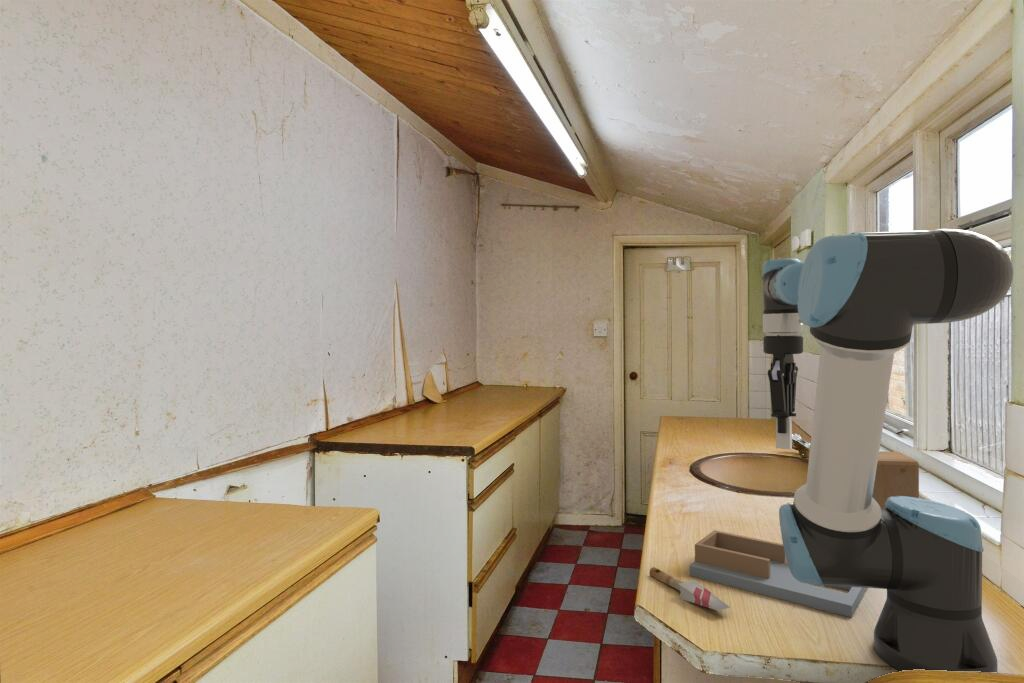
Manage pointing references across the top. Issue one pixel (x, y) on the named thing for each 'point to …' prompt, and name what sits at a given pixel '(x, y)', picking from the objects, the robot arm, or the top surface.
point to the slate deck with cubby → (765, 572)
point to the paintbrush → (690, 590)
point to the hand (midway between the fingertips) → (784, 448)
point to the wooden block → (895, 477)
